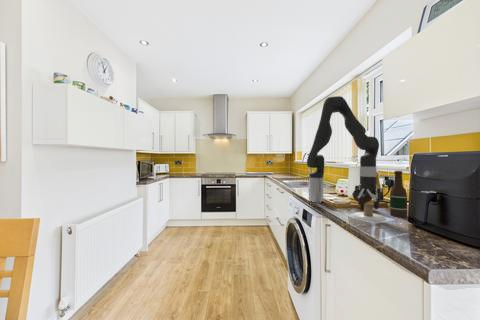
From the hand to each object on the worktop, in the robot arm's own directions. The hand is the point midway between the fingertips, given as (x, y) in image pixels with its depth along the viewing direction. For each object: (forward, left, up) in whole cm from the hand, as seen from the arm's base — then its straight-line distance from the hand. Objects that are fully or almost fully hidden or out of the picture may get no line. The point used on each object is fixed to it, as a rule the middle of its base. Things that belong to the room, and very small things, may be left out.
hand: (368, 207), depth 112 cm
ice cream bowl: (-14, +13, -6) cm, 20 cm away
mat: (0, 0, -6) cm, 6 cm away
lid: (0, 0, -5) cm, 5 cm away
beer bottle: (+4, +17, -6) cm, 19 cm away
